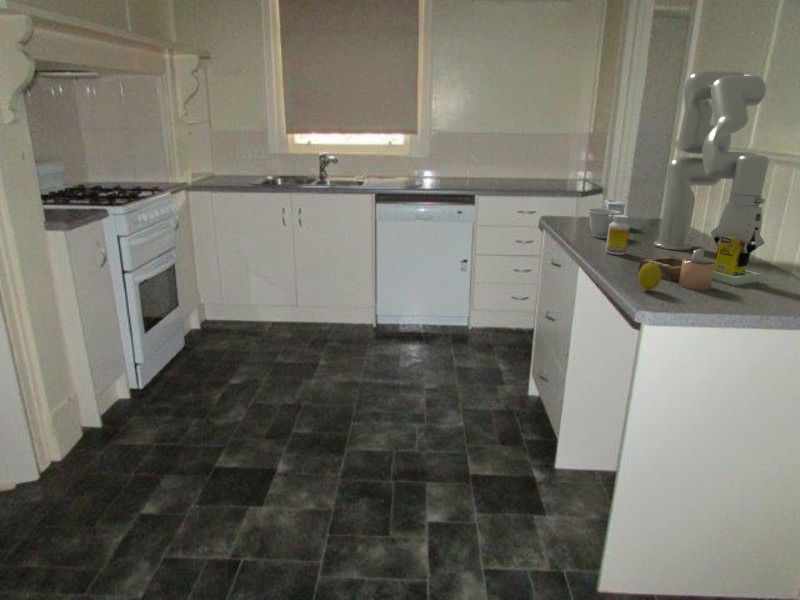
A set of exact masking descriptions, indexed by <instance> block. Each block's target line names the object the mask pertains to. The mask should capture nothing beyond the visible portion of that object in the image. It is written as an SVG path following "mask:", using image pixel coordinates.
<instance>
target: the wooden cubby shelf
mask: <svg viewBox="0 0 800 600" xmlns="http://www.w3.org/2000/svg"><path fill="white" fill-rule="evenodd" d="M683 259H684V258H681V257H677V256H673V255H671V256H662V257H655V258H647V259H641V260H640V261H639V266H638V273H639V272H640V269H641V268H642V266H643V265H645V264H647V263H650V262H654V263H655V264H657V265H658V266H659V267H660V270H661V279H662V278H663V279H662V280H665V279H666V281H669V282H670V281H676V280H678V281H679V277H680V272H681V266H682V261H683Z"/></svg>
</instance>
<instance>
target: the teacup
mask: <svg viewBox="0 0 800 600" xmlns="http://www.w3.org/2000/svg"><path fill="white" fill-rule="evenodd" d="M587 211H588V214H589V230H590V231H591V232H592V233H593V235H592V236H593V237H594V238H598V239H607V237H608V229H609V225H610V223H612V222H613V216H614V215H619V214H621V212H620V211H616V210H610V209H603V208H590V209H588V210H587Z"/></svg>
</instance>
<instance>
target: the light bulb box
mask: <svg viewBox="0 0 800 600" xmlns="http://www.w3.org/2000/svg"><path fill="white" fill-rule="evenodd" d="M602 205H603V206H602V209H610V210H616V211H620V212H621V214H619V215H624V213H625V206H626V204H625V203H624V202H622V201H621V200H610V199H609V200H608V199H607V200H604V199H603V204H602Z"/></svg>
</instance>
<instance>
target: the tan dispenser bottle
mask: <svg viewBox="0 0 800 600" xmlns="http://www.w3.org/2000/svg"><path fill="white" fill-rule="evenodd" d="M704 255H705V251H704V250H702V249H700V248H699V249H698V248H697V249H693V252H692V257H686V258H682V259H683V261H682V266H681V272H680V277H679V279H678V286H679V287H682V288H684V289H686V290H692V291H694V290H695V291H708V290H710V289H711V288H712V287H711V286H712V283H713V282H712V281H713V280H712V277H713V272H714V267H715V263H716V262H714V261H712V260H708V259H706V258H705V259H704Z"/></svg>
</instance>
